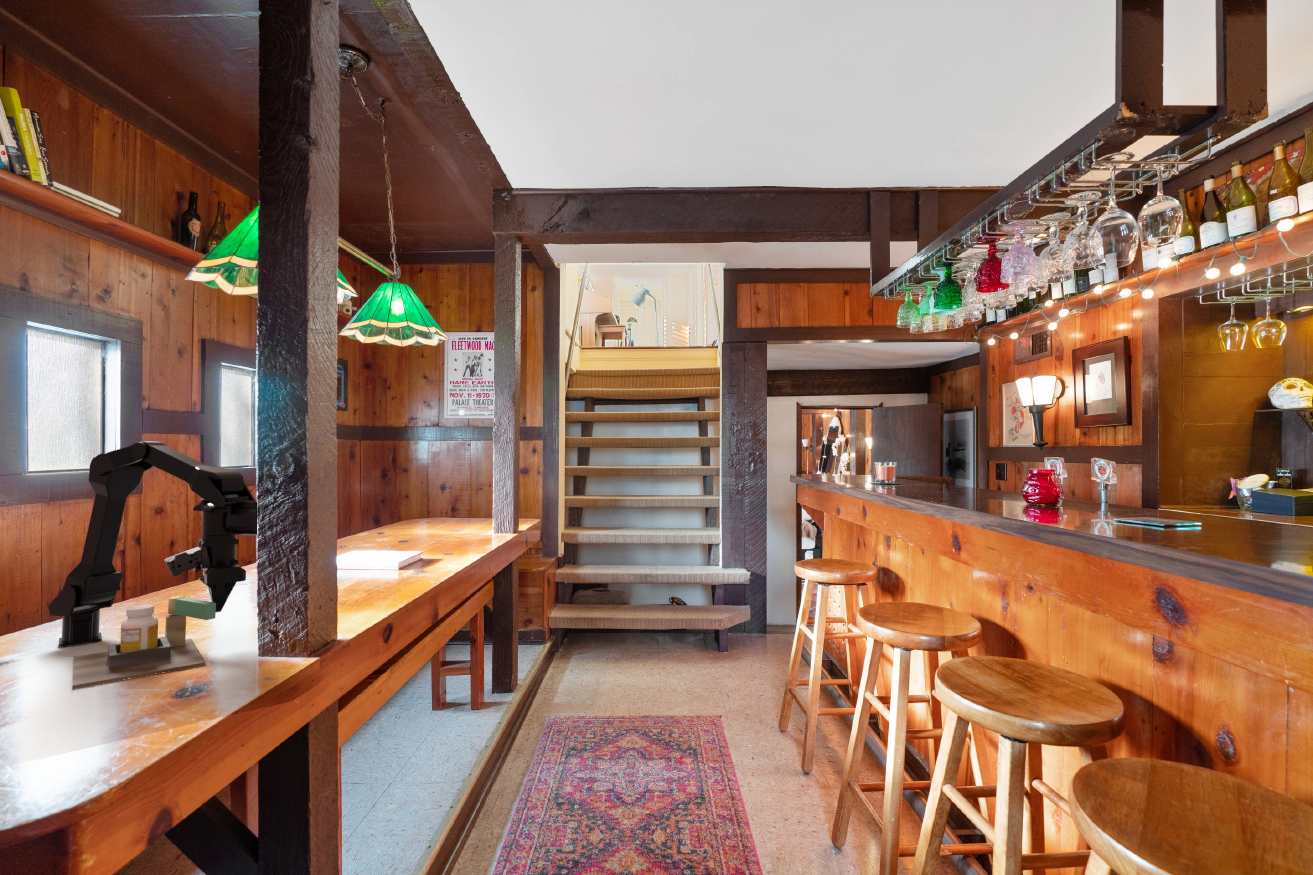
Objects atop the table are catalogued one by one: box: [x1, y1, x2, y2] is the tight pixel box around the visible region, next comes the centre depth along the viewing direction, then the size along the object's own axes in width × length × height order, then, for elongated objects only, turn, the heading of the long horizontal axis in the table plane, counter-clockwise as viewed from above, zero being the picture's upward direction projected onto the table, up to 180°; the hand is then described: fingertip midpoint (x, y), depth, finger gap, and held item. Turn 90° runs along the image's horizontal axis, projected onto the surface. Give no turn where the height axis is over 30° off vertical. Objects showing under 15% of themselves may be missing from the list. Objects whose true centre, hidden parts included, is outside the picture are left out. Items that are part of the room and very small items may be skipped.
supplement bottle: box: [119, 604, 159, 653], centre depth 116 cm, size 5×5×10 cm
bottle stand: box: [72, 613, 206, 690], centre depth 116 cm, size 20×18×7 cm
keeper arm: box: [167, 595, 217, 621], centre depth 123 cm, size 13×3×3 cm, turn 66°
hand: (217, 611), depth 124 cm, fingers closed
